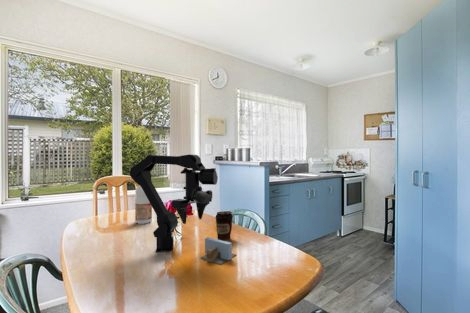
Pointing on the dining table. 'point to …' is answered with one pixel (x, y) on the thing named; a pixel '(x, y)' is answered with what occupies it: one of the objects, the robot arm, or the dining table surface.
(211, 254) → the slotted base
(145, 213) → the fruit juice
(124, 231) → the dining table surface
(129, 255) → the dining table surface
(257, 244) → the dining table surface
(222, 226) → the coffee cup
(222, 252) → the pale blue slat
